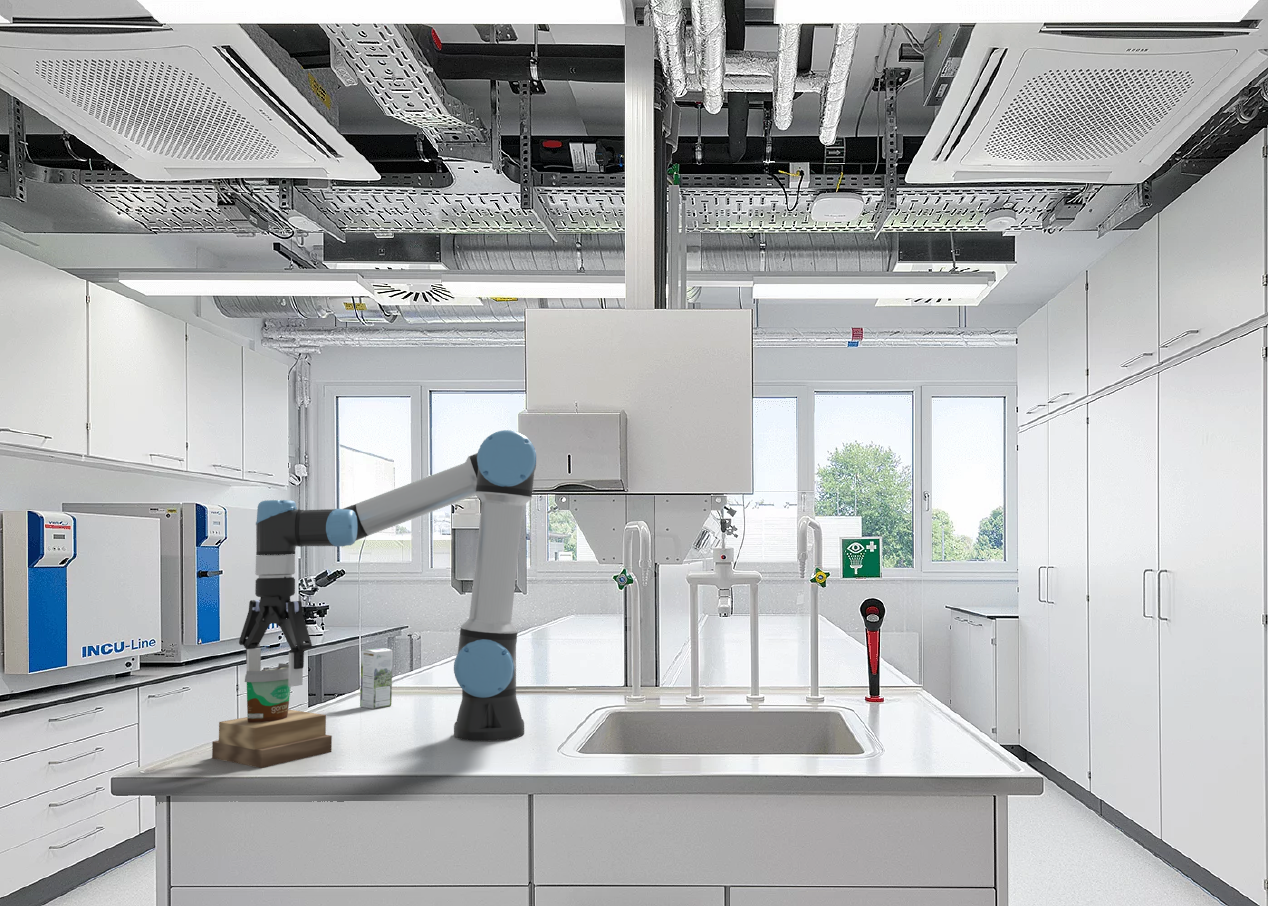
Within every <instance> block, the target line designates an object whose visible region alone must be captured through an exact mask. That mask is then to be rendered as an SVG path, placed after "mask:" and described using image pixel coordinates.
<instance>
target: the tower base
mask: <svg viewBox="0 0 1268 906" xmlns="http://www.w3.org/2000/svg"><path fill="white" fill-rule="evenodd" d="M332 737H333V736H332V735H330V734H326V735H324V736H319V737H314V738H309V739H305V740H300V741H295V742H290V743H285V744H280V745H275V746H270V747H265V748H260V749H255V750H253V749H248V748H243V747H238V746H233V745H228V744H222V743H219V739H218V740H214V741H212V745H211V748H212V751H211V758H212V759H214V760H219V761H223V762H224V761H225V762H229V763H234V764H239V765H244V766H250V767H255V768H258V769H259V768H260V769H263V768H268V767H273V766H276V765H281V764H285V763H289V762H294V761H299V760H303V759H307V758H312V757H315V756H316V757H317V756H321V755H324V754H328V753H333V752H332V748H333V747H332V741H333V740H332V739H333V738H332Z"/></svg>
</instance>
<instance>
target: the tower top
mask: <svg viewBox="0 0 1268 906" xmlns="http://www.w3.org/2000/svg"><path fill="white" fill-rule="evenodd" d="M326 723H327V714H322V713H315V712H307V711H301V710H300V711H299V710H294V709H288V715H287V718H285V719H281V720H277V721H269V722H248V716H246V717H240V718H235V719H230V720H229V719H228V720H224V721H218V740H219V743H222V744H228V745H233V746H238V747H243V748H248V749H253V750H255V749H260V748H265V747H270V746H275V745H280V744H285V743H290V742H295V741H300V740H305V739H309V738H314V737H319V736H324V735H327V733H326V731H327V730H326V728H327V724H326Z"/></svg>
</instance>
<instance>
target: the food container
mask: <svg viewBox="0 0 1268 906" xmlns="http://www.w3.org/2000/svg"><path fill="white" fill-rule="evenodd" d="M288 677H289V663H280V662H279V663H278V667H276V668H272V669H271V668H270V669H268V668H266V669H261V670H260V671H247V670H246V674H245V676H244V682H245V683H246V707H247V709H246V710H247V712H246V713H247V716H246V717H248V722H269V721H277V720H281V719H285V718H287V715H288V710H289V704H290V697H291V687H289V686H288Z"/></svg>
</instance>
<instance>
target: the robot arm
mask: <svg viewBox="0 0 1268 906" xmlns="http://www.w3.org/2000/svg"><path fill="white" fill-rule="evenodd" d="M536 467H537V451H536V448H535V446H534V444H533V443H532V442H531V440H530V439H529V438H528V437H527V436H526V435H524V434H523V433H520V432H519V431H515V430H511V429H510V430H509V429H504V430H498V431H496V432H493V433H492V434H489V435H488V436H487V437H486V438H485V439H484V440H483V441H482V442H481V444H480V446H479V449H477V452H476V453H474V454H472V455H468V456H467V458H466V460H465V462H464V463H460V464H459V465H455V466H453V467H450V468H447V469H445V470H442V471H439V472H437V473H435V474H432V475H429V476H426V477H423V478H421V479H419V480H416V481H413V482H410V483H408V484H405V485H402V486H399V487H397V488H395V489H392V490H390V491H386V492H384V493H381V494H379V495H376V496H373V497H371V498H368V499H365V500H363V501H360V502H357V503H355V504H352V505H349V506H347V507H344V508H333V509H332V508H331V509H329V508H328V509H326V508H325V509H298V507H297V503H296V501H294V500H290V499H281V500H279V499H277V500H276V499H275V500H274V499H273V500H272V499H267V500H262V501H260V502H258V504H257V511H256V521H255V526H256V527H255V528H256V530H255V532H256V535H255V537H256V539H255V540H256V543H255V548H256V552H255V553H256V554H255V571H254V573H255V575H256V576H258V578H256V579H255V586H254V587H255V590H254V592H255V596H256V597H258V598H260V599H253V600H250V601H249V602H248V603H249V605H248V612H247V614H246V618H245V622H244V624H243V628H242V631H241V634H240V636H239V640H238V644H239V645H240V646H243V648H244V649H245V651H246V653H245V663H246V672H247V671H262V669H261V665H262V663H261V660H262V659H261V658H262V656H261V655H262V649H261V644H260V643H261V641H262V639H263V637H264V635H265V634H266V632H267V631H268V629H269V627H270V625H272V624H273V625H274V624H275V625H277V626H278V627H279V628H280V629H281V631H282V634H283V635H284V638H285V640H286V641H287V644H288V646H289V648H290V650H289V651H288V664H289V677H288V686H289V687H297V686H303V674H304V673H303V669H304V664H305V652H306V650H309V649H312V648H313V647H312V646H313V645H312V640H311V637H310V634H309V631H308V627H307V623H306V621H305V617H304V614H303V604H302V601H301V600H295V601H293V600H292V601H291V597H292V596H294V595H295V593H296V578H295V577H293V576H292V575H295V573H296V547H301V548H302V547H335V548H336V547H337V548H339V547H345V546H346V547H347V546H353V544H355V542H356V541H358V540H362V539H364V538H367V537H369V536H371V535H374V534H377V533H379V532H382V531H385V530H387V529H390V528H393V527H395V526H397V525H400V524H403V523H405V522H408V521H411V520H413V519H416V518H420V517H421V516H424V515H427V514H429V513H430V514H431V513H432V512H435V511H438V510H441V509H443V508H445V507H449V506H452V505H454V504H456V503H459V502H461V501H464V500H466V499H469V498H472V497H474V496H475V497H476V496H477V498H479V500H480V502H481V508H480V516H479V517H480V518H479V528H478V534H477V535H478V536H477V544H476V554H475V561H474V562H475V563H474V570H473V572H474V573H473V580H472V588H471V589H472V590H471V599H470V607H469V608H470V609H469V617H468V619H467V620H466V621H464V622H463V623H462V624H461V626H460V630H459V638H458V646H457V647H458V649H457V655H456V657H455V659H454V663H453V673H454V678H455V680H456V682H457V683H458V685H459V687H460V689H462V690H461V692H462V693H461V702H460V706H459V709H458V712H457V718H456V720H455V722H454V725H453V737H454V738H456V739H457V740H458V739H459V740H461V741H462V740H463V741H471V742H472V741H473V742H491V741H492V742H493V741H502V740H511V739H514V738H518V737H521V736H523V735H525V721H524V719H523V717H522V714H521V709H520V706H519V702H518V699H517V641H518V633H519V632H518V630H517V628H516V627H515V625H514V624H513V622H512V617H513V607H514V601H515V600H514V598H515V590H516V589H515V588H516V579H517V569H518V560H519V552H520V541H521V535H522V534H521V532H522V523H523V513H524V512H523V511H524V506H525V505H526V504H527V503H528V502H530V501H531V500H532V498H533V497H532V496H533V487H534V479H535V478H534V477H535V471H536Z"/></svg>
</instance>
